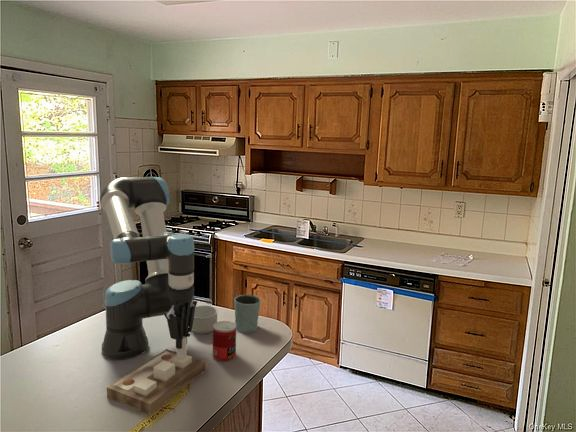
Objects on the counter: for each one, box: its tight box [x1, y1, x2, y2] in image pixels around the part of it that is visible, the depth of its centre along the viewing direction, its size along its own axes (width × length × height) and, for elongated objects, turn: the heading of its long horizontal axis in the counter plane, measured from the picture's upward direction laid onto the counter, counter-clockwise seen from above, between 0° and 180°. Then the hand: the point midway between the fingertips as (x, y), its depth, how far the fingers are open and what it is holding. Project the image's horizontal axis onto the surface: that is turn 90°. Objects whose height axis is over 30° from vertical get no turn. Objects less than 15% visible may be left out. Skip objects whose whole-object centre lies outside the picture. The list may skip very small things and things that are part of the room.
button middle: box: [153, 360, 175, 382], centre depth 128 cm, size 4×4×4 cm
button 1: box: [133, 378, 157, 396], centre depth 121 cm, size 4×4×4 cm
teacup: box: [192, 304, 218, 335], centre depth 164 cm, size 14×11×8 cm
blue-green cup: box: [233, 294, 261, 334], centre depth 167 cm, size 10×10×12 cm
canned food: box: [212, 320, 237, 362], centre depth 145 cm, size 8×8×11 cm
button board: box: [106, 348, 207, 415], centre depth 129 cm, size 16×25×3 cm, turn 155°
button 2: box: [172, 354, 193, 369], centre depth 135 cm, size 4×4×4 cm
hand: (181, 356), depth 135 cm, fingers closed
